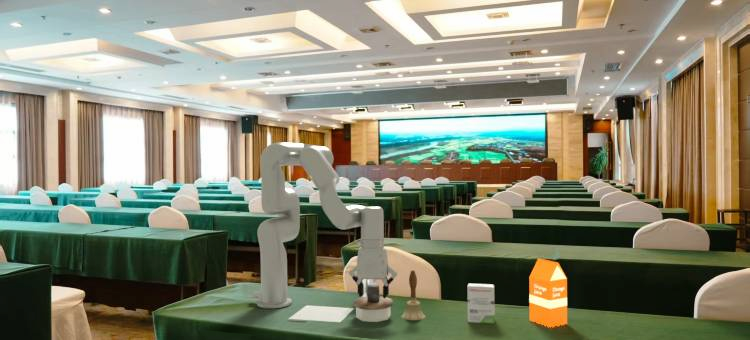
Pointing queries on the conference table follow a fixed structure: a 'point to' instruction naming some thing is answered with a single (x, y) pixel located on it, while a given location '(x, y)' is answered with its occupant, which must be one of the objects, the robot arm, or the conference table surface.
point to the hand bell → (413, 302)
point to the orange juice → (548, 294)
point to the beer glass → (368, 282)
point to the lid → (373, 300)
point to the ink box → (481, 303)
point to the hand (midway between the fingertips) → (373, 296)
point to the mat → (321, 314)
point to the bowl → (373, 314)
